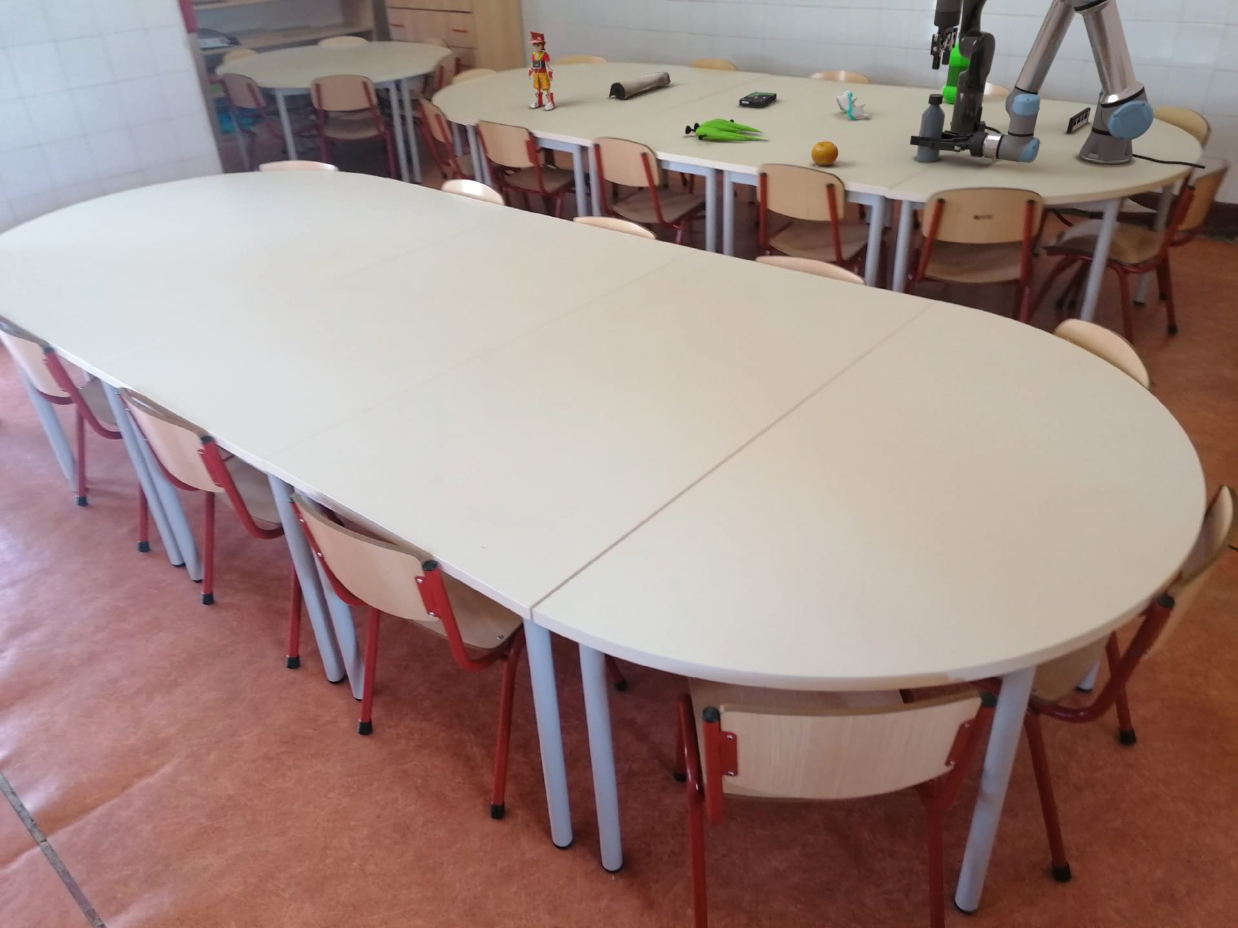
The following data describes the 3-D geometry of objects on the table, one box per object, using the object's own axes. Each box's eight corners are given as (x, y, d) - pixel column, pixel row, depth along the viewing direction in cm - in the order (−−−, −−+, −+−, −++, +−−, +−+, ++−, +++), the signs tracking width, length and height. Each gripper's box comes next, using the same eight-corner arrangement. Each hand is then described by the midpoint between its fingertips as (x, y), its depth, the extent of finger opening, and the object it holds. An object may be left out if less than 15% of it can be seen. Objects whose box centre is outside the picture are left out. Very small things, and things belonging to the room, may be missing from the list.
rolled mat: (651, 76, 408) (662, 61, 399) (662, 93, 408) (674, 79, 400) (605, 92, 391) (616, 77, 383) (617, 110, 391) (628, 95, 383)
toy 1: (525, 109, 381) (517, 32, 364) (534, 104, 388) (527, 28, 371) (550, 110, 377) (543, 32, 360) (559, 105, 384) (553, 28, 367)
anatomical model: (831, 89, 347) (857, 82, 346) (834, 116, 353) (859, 109, 352) (842, 98, 335) (869, 91, 334) (845, 126, 341) (871, 118, 340)
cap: (938, 105, 284) (939, 97, 283) (925, 104, 287) (927, 96, 285) (944, 103, 287) (945, 94, 285) (932, 101, 289) (933, 93, 288)
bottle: (931, 163, 293) (941, 100, 281) (912, 160, 297) (920, 97, 286) (942, 158, 297) (951, 95, 285) (922, 154, 301) (931, 93, 290)
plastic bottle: (973, 101, 354) (984, 32, 339) (955, 106, 349) (966, 36, 335) (952, 97, 361) (962, 29, 346) (934, 102, 356) (944, 33, 342)
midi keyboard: (1070, 133, 311) (1073, 118, 308) (1066, 133, 312) (1069, 118, 309) (1087, 122, 322) (1091, 107, 319) (1084, 121, 322) (1087, 107, 319)
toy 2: (674, 138, 327) (749, 153, 315) (675, 124, 324) (751, 138, 312) (709, 126, 347) (780, 139, 335) (710, 112, 345) (782, 125, 332)
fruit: (804, 156, 294) (819, 134, 291) (809, 158, 302) (823, 137, 299) (825, 170, 293) (840, 148, 290) (829, 172, 300) (844, 151, 297)
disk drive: (762, 109, 362) (776, 100, 372) (762, 101, 360) (777, 93, 370) (738, 106, 367) (753, 98, 377) (738, 99, 365) (754, 91, 375)
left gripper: (946, 4, 278) (938, 61, 287) (926, 11, 269) (919, 70, 278) (970, 5, 273) (961, 63, 283) (951, 13, 265) (942, 72, 274)
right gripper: (973, 165, 280) (902, 156, 291) (993, 149, 293) (924, 141, 304) (978, 141, 275) (905, 133, 287) (997, 125, 288) (927, 118, 300)
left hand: (940, 67), depth 281 cm, fingers open, 7 cm apart
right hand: (915, 137), depth 295 cm, fingers closed on bottle, 7 cm apart
